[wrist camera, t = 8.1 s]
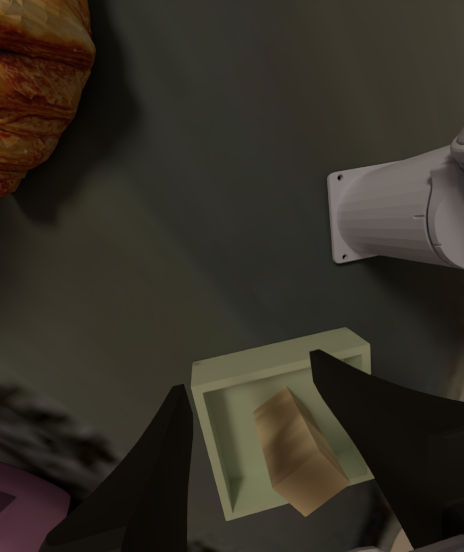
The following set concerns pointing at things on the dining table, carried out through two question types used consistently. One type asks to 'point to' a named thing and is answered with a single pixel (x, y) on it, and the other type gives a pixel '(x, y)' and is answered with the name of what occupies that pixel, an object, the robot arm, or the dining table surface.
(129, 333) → the dining table surface
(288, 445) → the oak block
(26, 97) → the croissant
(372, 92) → the dining table surface
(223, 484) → the sage bin
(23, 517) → the teakettle
